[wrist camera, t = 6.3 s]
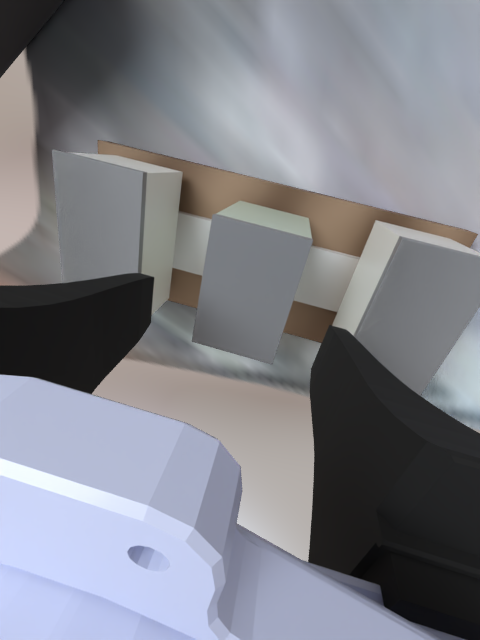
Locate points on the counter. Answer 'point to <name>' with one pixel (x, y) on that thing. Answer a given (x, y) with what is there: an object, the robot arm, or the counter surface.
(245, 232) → the block
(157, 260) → the mounted modules
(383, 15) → the counter surface
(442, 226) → the rail board
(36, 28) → the leaning round-cornered charcoal block
